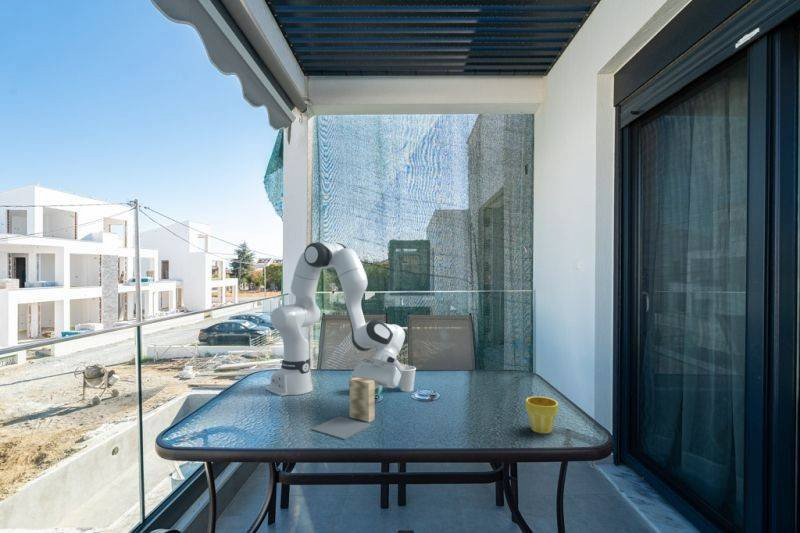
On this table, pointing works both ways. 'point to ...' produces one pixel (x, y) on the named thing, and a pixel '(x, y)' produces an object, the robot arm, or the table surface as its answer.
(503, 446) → the table surface
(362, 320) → the robot arm
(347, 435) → the mat
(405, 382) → the dixie cup
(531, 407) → the plant pot
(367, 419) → the oak slab
